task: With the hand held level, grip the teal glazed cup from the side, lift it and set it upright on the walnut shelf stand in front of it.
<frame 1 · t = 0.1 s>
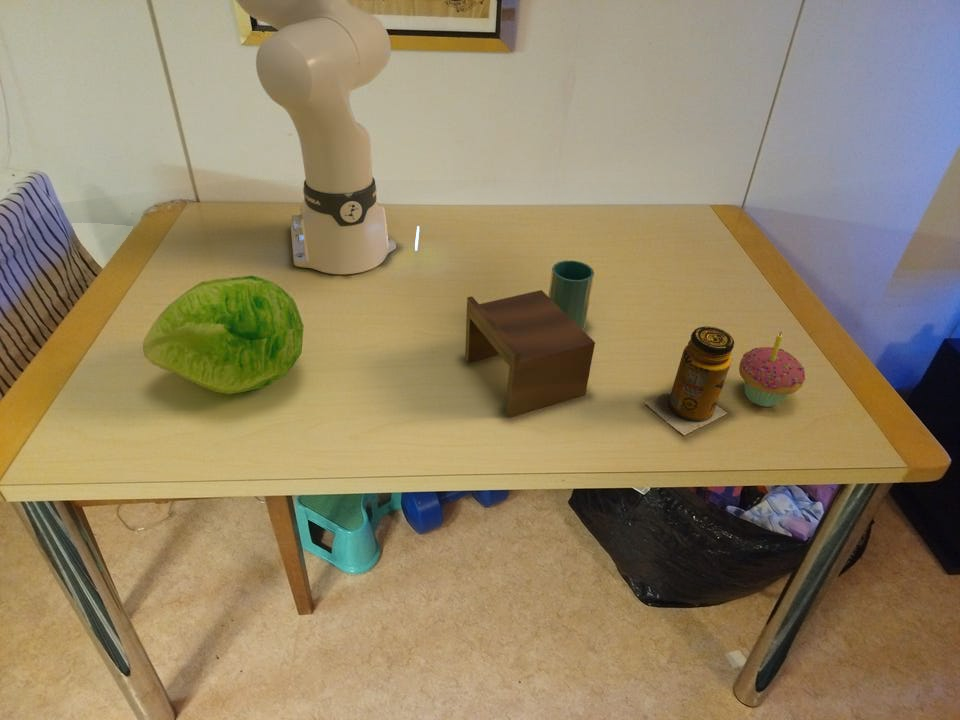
cupcake: (760, 396, 93), on the table
cup: (564, 325, 104), on the table
shelf: (523, 375, 94), on the table
condiment: (685, 410, 90), on the table
lettuce: (237, 379, 91), on the table
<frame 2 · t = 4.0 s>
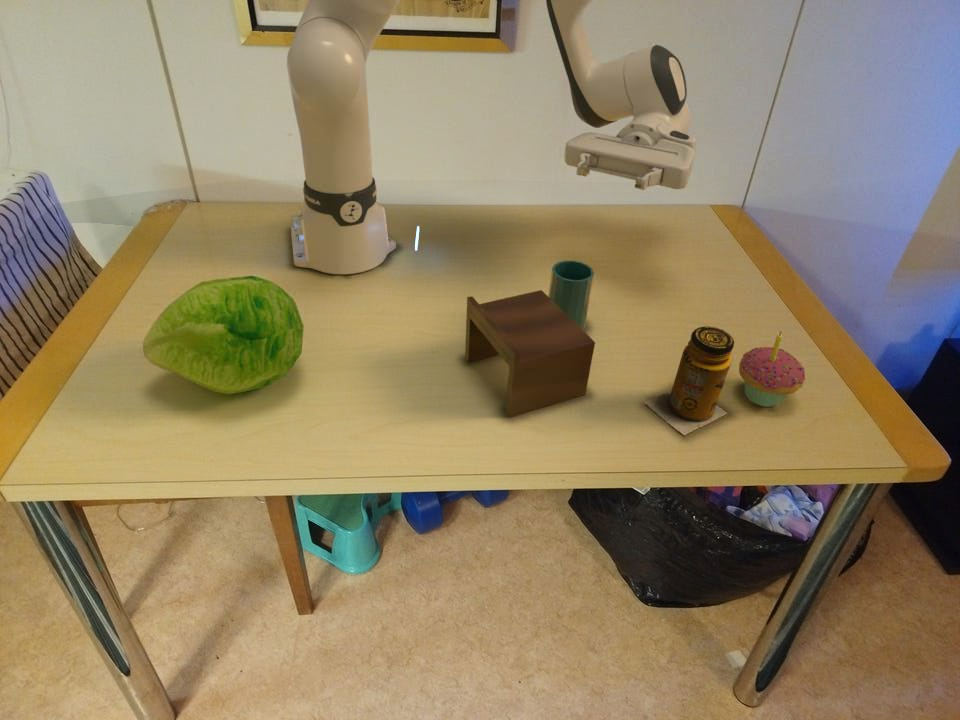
hand: (609, 177, 99), 21 cm above the table, tool horizontal, fingers open, 8 cm apart
nothing on the table moved.
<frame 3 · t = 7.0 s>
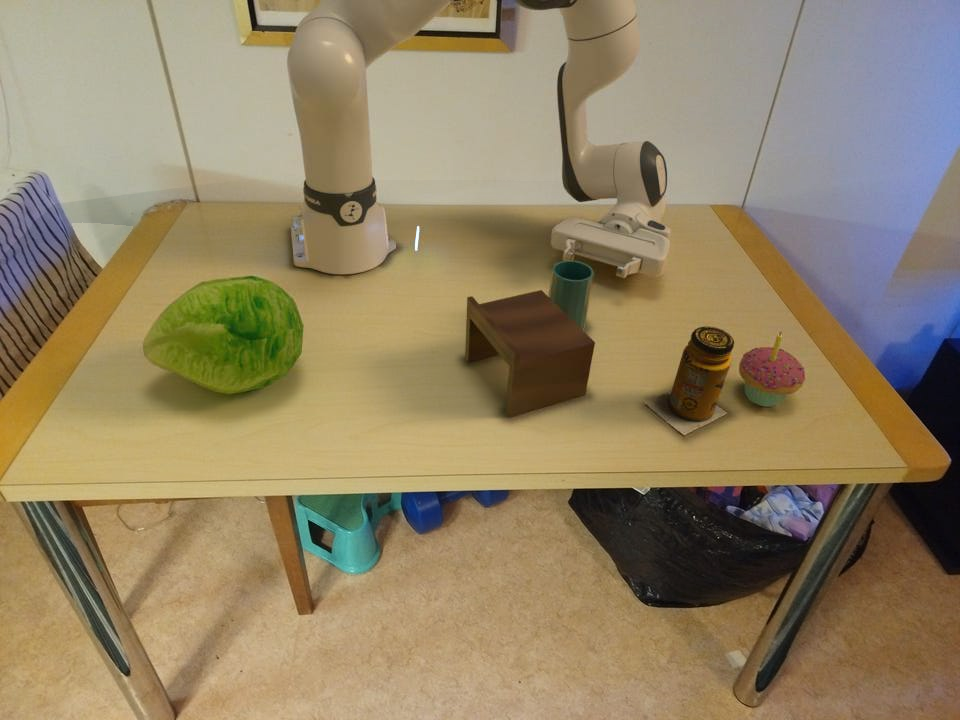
hand: (593, 265, 108), 6 cm above the table, tool horizontal, fingers open, 8 cm apart
nothing on the table moved.
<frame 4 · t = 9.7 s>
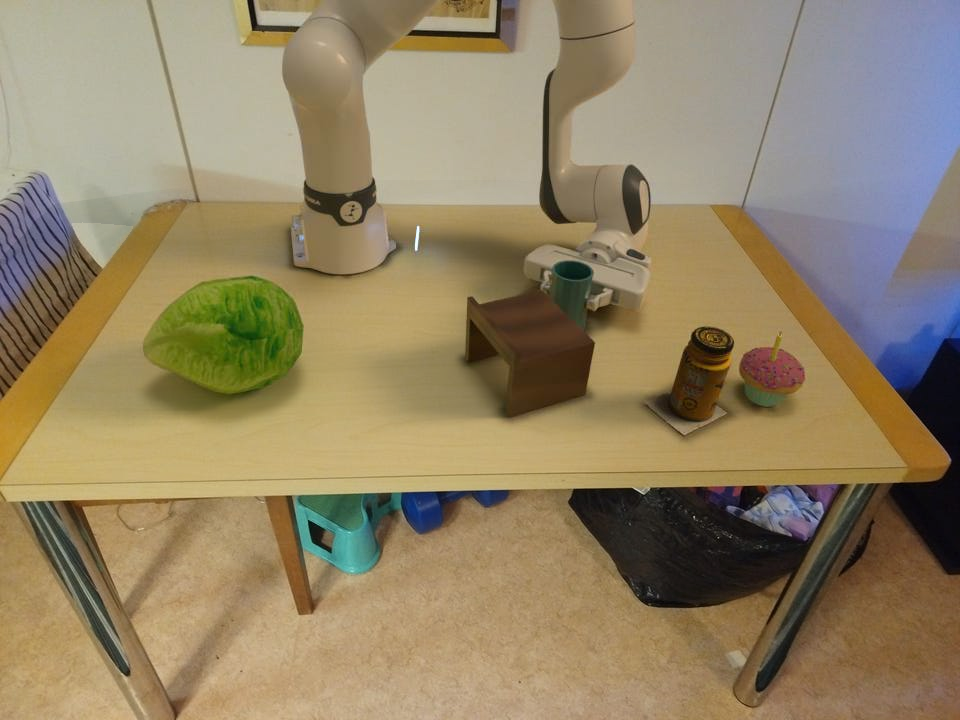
hand: (567, 298, 100), 6 cm above the table, tool horizontal, fingers closed on cup, 6 cm apart
cup: (564, 325, 104), on the table, touching gripper
everything else where it was.
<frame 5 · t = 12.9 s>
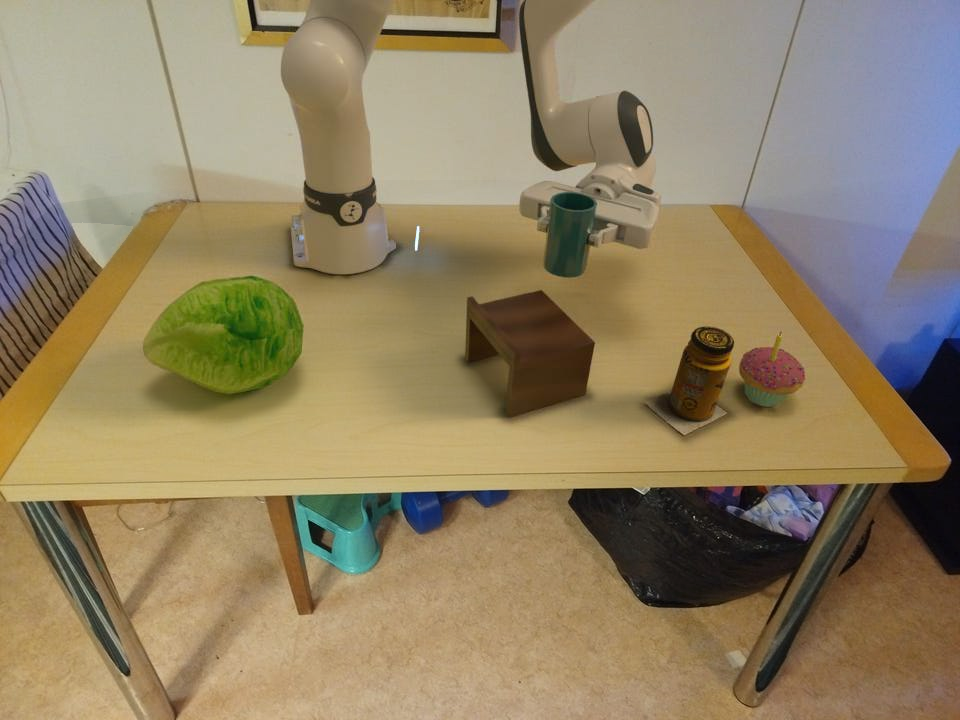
hand: (567, 234, 90), 18 cm above the table, tool horizontal, fingers closed on cup, 6 cm apart
cup: (564, 266, 95), point 12 cm above the table, touching gripper
everything else where it was.
when the fingers open (14 cm above the table, at t = 16.4 s): cup stays where it is, resting on shelf.
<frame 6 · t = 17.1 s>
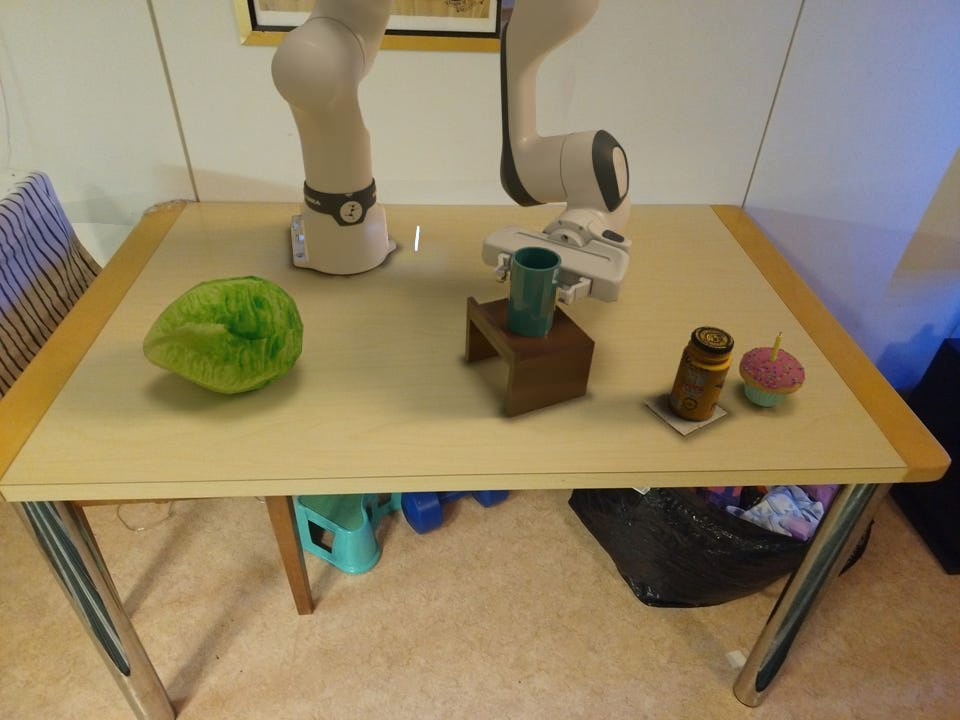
hand: (529, 287, 84), 15 cm above the table, tool horizontal, fingers open, 8 cm apart
cup: (529, 323, 88), point 9 cm above the table, touching shelf
everything else where it was.
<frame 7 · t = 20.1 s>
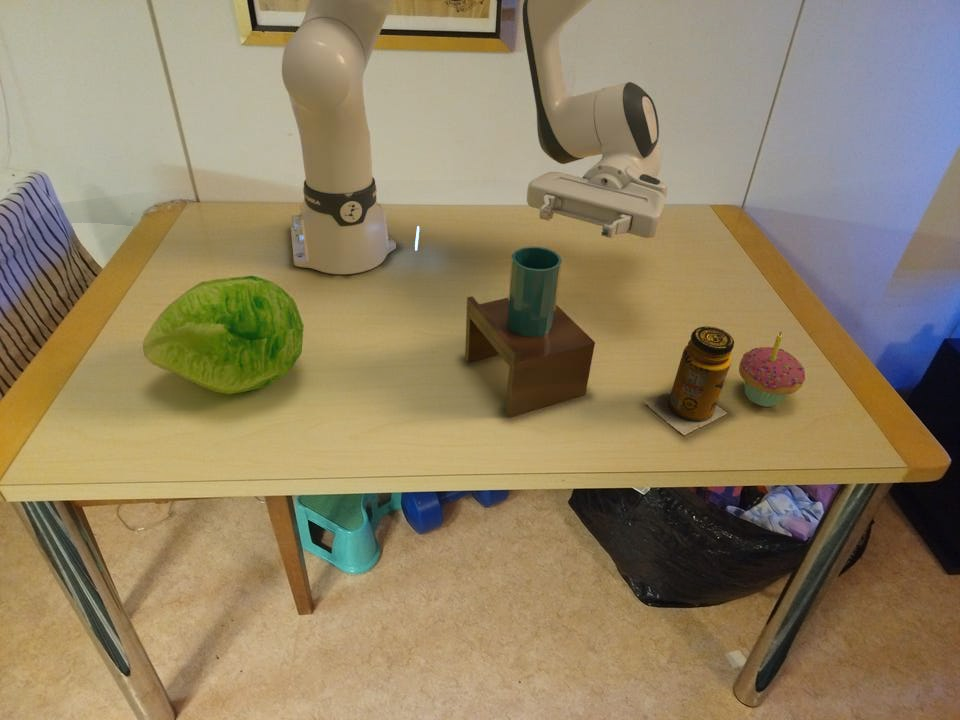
hand: (574, 223, 91), 19 cm above the table, tool horizontal, fingers open, 8 cm apart
nothing on the table moved.
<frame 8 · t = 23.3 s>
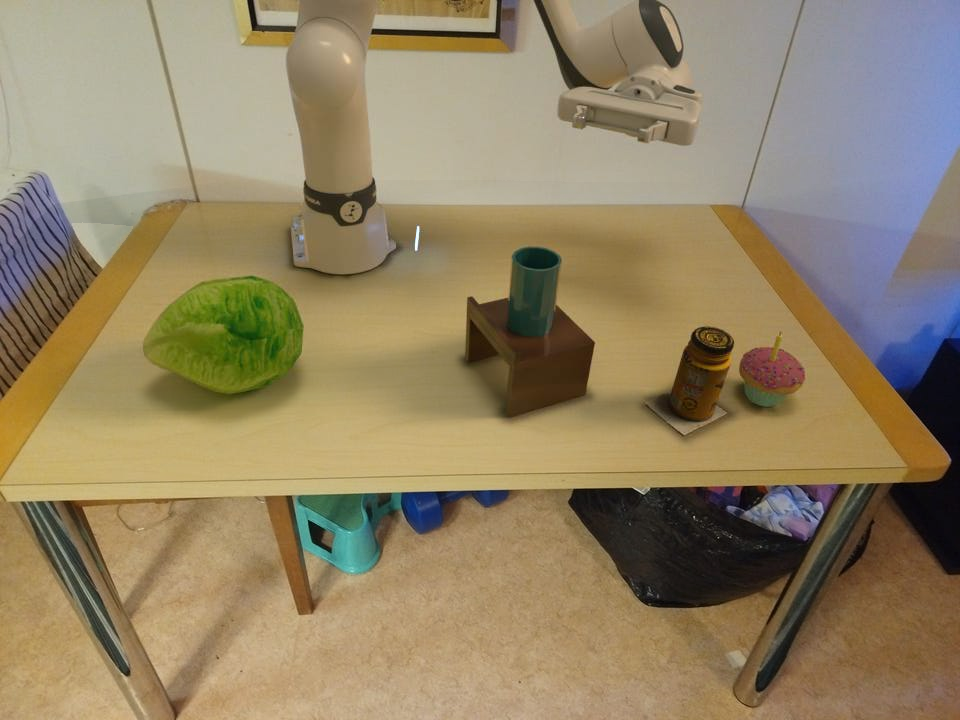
hand: (609, 129, 89), 30 cm above the table, tool horizontal, fingers open, 8 cm apart
nothing on the table moved.
at the end: cup inside the target area on the shelf (0.1 cm from its centre), point 9.0 cm above the shelf's base; cup tilted 0°; the gripper is holding nothing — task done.
